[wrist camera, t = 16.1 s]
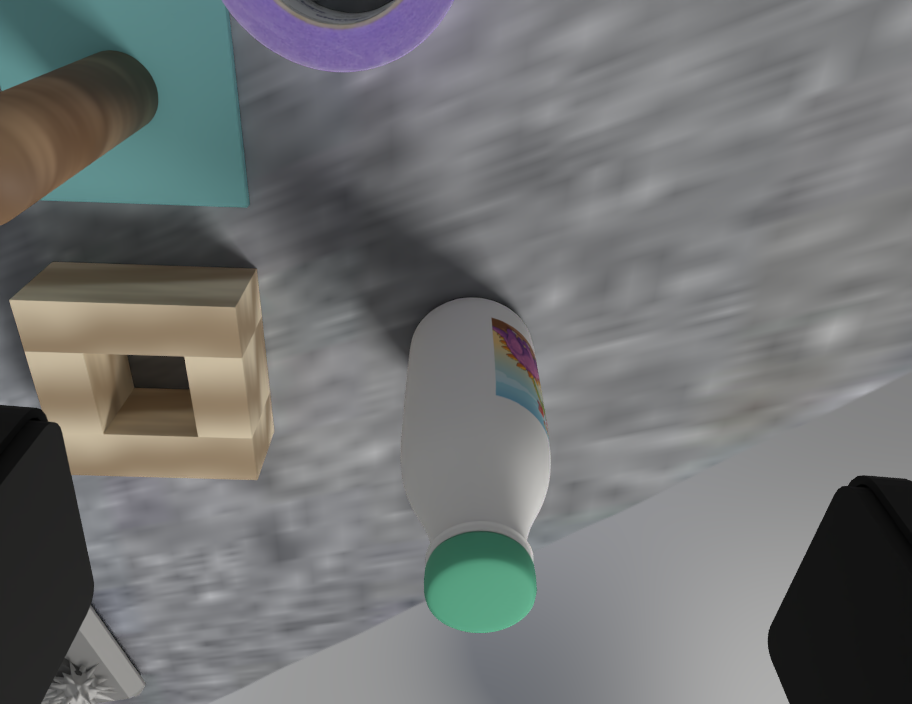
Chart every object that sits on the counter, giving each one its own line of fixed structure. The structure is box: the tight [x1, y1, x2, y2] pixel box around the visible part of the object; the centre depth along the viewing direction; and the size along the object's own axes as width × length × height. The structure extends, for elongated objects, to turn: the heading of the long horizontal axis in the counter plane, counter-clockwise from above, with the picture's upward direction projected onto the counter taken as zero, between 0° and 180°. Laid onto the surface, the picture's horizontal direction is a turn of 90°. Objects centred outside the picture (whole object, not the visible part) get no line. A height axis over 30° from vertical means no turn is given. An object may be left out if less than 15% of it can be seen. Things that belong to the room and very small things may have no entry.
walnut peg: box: [0, 50, 158, 225], centre depth 33 cm, size 4×4×14 cm
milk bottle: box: [401, 297, 551, 633], centre depth 39 cm, size 8×8×20 cm
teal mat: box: [0, 0, 250, 208], centre depth 39 cm, size 12×12×1 cm
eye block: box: [9, 262, 274, 480], centre depth 45 cm, size 12×12×5 cm
